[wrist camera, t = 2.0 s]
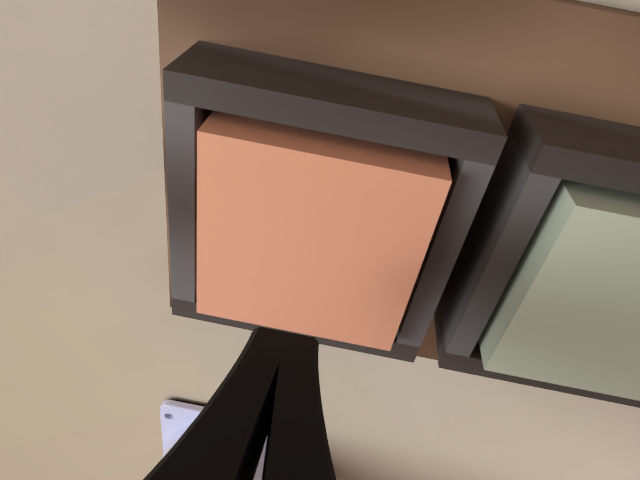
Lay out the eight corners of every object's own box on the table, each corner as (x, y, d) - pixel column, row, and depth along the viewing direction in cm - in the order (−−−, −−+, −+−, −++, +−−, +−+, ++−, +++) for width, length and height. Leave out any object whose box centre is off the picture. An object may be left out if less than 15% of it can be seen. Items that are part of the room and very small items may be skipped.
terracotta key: (390, 308, 17) (390, 351, 16) (214, 273, 17) (196, 312, 16) (445, 146, 14) (451, 181, 12) (220, 102, 14) (197, 130, 12)
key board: (843, 423, 22) (916, 511, 19) (178, 291, 22) (143, 357, 19) (1251, 131, 13) (1510, 206, 10) (168, -79, 13) (102, -69, 10)
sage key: (652, 360, 17) (678, 408, 16) (475, 325, 17) (484, 369, 16) (780, 212, 14) (833, 256, 12) (554, 167, 14) (576, 205, 12)
